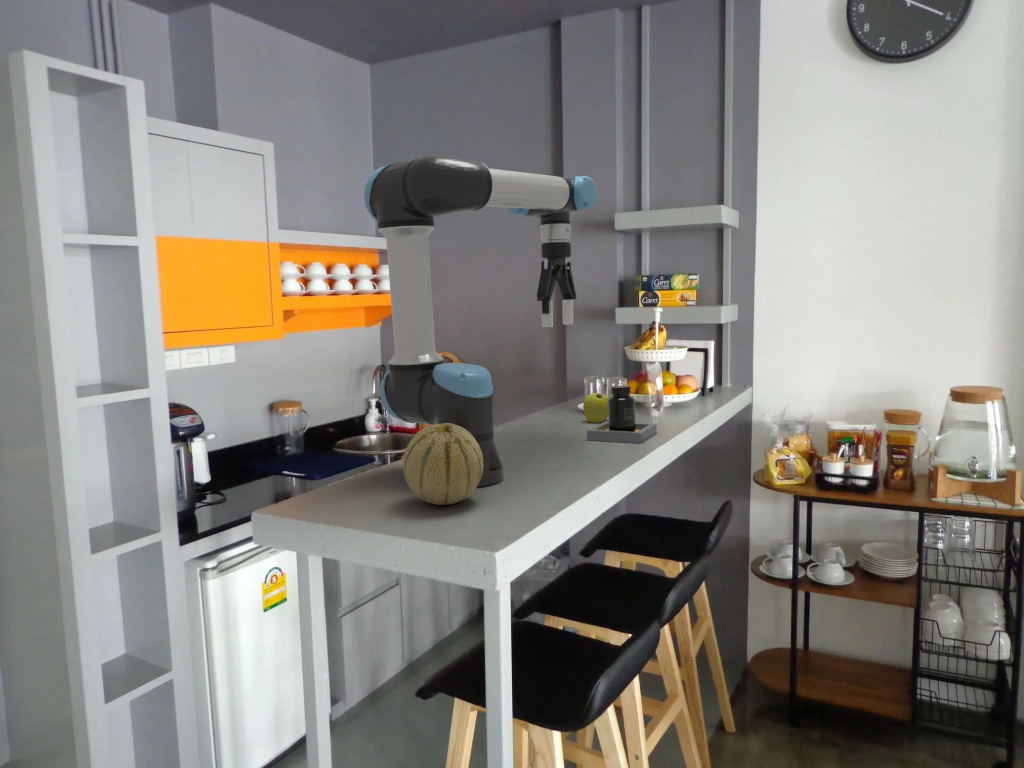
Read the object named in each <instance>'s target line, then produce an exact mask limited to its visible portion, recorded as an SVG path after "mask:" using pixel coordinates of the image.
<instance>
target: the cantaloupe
mask: <svg viewBox="0 0 1024 768" xmlns="http://www.w3.org/2000/svg"><path fill="white" fill-rule="evenodd" d="M483 466H484V464H483V454H482V451H481V449H480V446H479V444H478V443H477V441H476V440H475V438H474V437H473V435H472V434H471V433H470V432H469V431H467V430H466V429H464V428H462V427H460V426H457V425H454V424H451V423H442V424H433V425H430V424H429V425H428V426H426V427H424V428H422V429H420V430H419V431H417V432H416V433H415V434H414V436H412V437H411V440H410V442H409V443H408V444H407V446H406V449H405V451H404V454H403V460H402V471H403V476H404V479H405V481H406V484H407V486H408V487H409V489H410V490H411V491H412V492H413V494H415V496H416V497H418V499H420V500H421V501H424V502H425V503H429V504H433V505H437V506H445V505H452V504H453V505H454V504H457V503H459V502H461V501H463V500H466V499H467V498H469V497H470V496H471V495H472V494H473V493H474V492H475V490H476V489H477V488H478V487H477V486H478V484H479V482H480V480H481V476H482V473H483Z"/></svg>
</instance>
